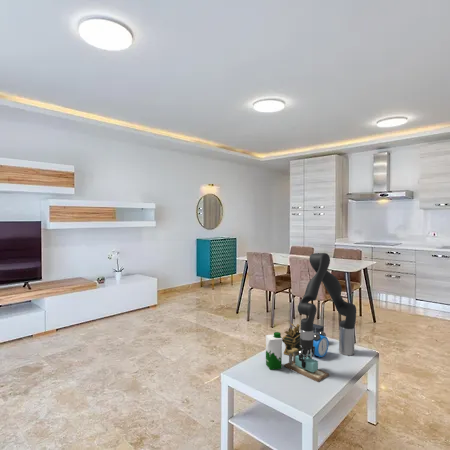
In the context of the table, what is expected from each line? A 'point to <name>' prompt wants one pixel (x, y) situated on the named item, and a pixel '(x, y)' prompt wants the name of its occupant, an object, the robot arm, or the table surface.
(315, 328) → the small box
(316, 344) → the alarm clock
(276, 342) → the milk carton
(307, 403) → the table surface
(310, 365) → the teal rectangular prism
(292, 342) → the decorative box
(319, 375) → the board
